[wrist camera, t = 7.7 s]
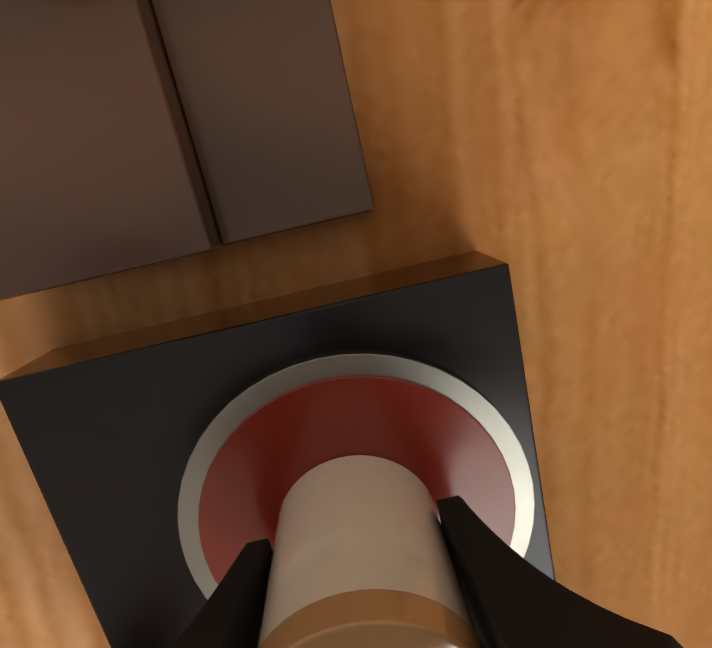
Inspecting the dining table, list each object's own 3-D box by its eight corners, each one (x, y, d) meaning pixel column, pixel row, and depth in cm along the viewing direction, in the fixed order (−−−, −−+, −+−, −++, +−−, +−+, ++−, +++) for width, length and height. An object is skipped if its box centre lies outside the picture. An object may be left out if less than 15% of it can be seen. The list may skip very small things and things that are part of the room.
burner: (552, 620, 16) (556, 627, 16) (237, 690, 16) (235, 699, 16) (504, 312, 13) (508, 315, 13) (128, 399, 14) (124, 404, 13)
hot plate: (550, 696, 21) (587, 782, 18) (189, 775, 21) (165, 874, 18) (477, 250, 16) (511, 263, 13) (10, 358, 16) (-65, 397, 13)
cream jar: (453, 574, 15) (523, 798, 10) (298, 609, 15) (278, 851, 10) (423, 433, 14) (484, 596, 8) (254, 471, 14) (202, 658, 8)
